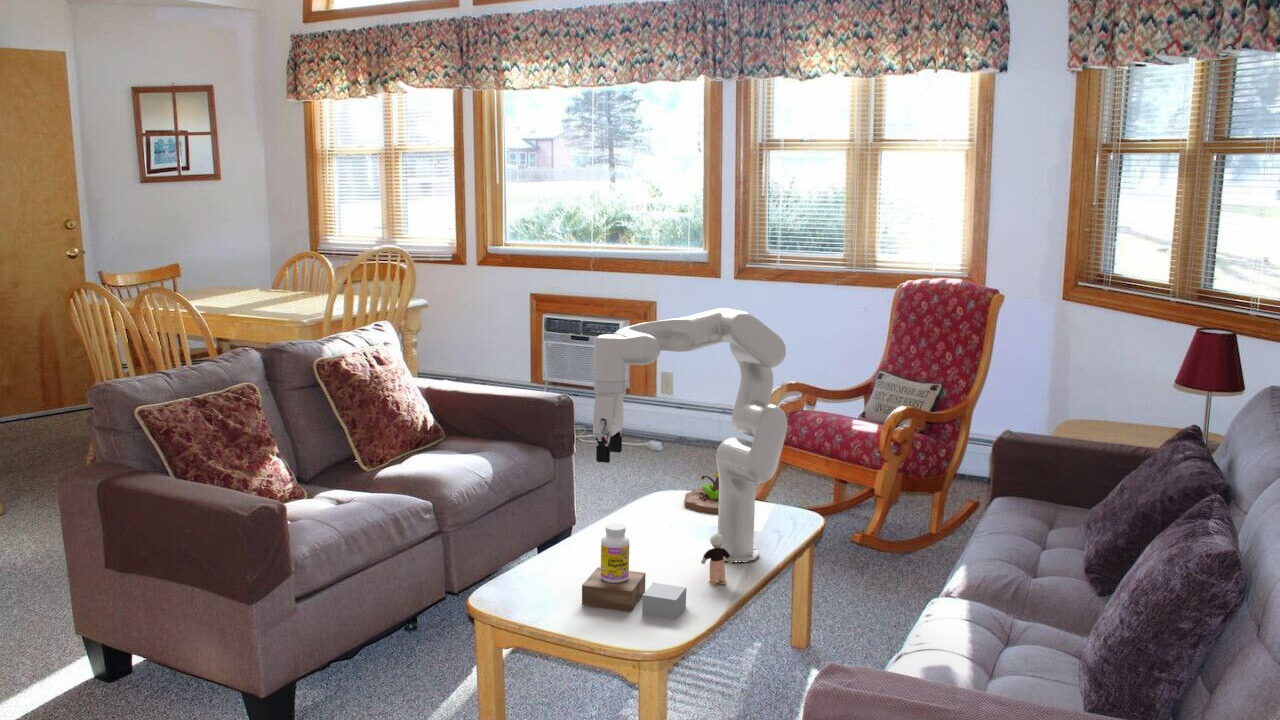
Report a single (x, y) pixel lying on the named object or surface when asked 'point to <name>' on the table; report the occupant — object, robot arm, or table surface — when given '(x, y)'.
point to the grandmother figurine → (717, 560)
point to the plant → (704, 497)
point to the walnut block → (613, 592)
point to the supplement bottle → (615, 554)
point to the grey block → (664, 601)
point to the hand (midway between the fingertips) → (609, 456)
